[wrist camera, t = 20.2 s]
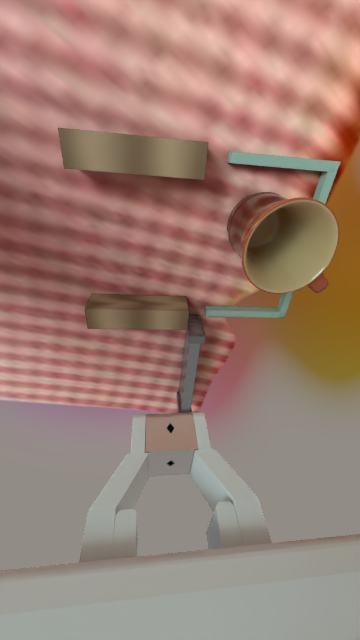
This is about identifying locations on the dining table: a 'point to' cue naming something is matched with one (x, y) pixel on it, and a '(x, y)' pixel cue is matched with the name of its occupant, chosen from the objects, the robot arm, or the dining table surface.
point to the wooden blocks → (143, 160)
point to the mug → (283, 241)
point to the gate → (190, 362)
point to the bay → (320, 194)
